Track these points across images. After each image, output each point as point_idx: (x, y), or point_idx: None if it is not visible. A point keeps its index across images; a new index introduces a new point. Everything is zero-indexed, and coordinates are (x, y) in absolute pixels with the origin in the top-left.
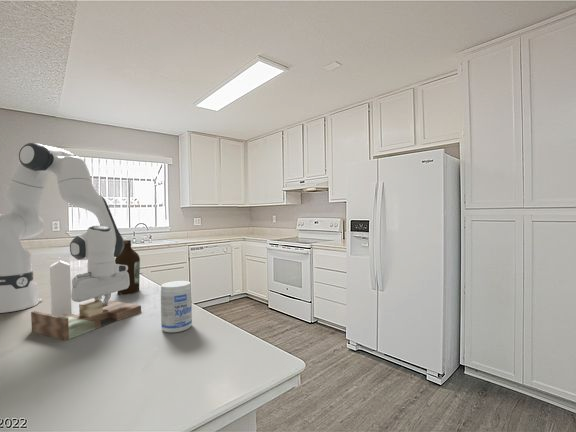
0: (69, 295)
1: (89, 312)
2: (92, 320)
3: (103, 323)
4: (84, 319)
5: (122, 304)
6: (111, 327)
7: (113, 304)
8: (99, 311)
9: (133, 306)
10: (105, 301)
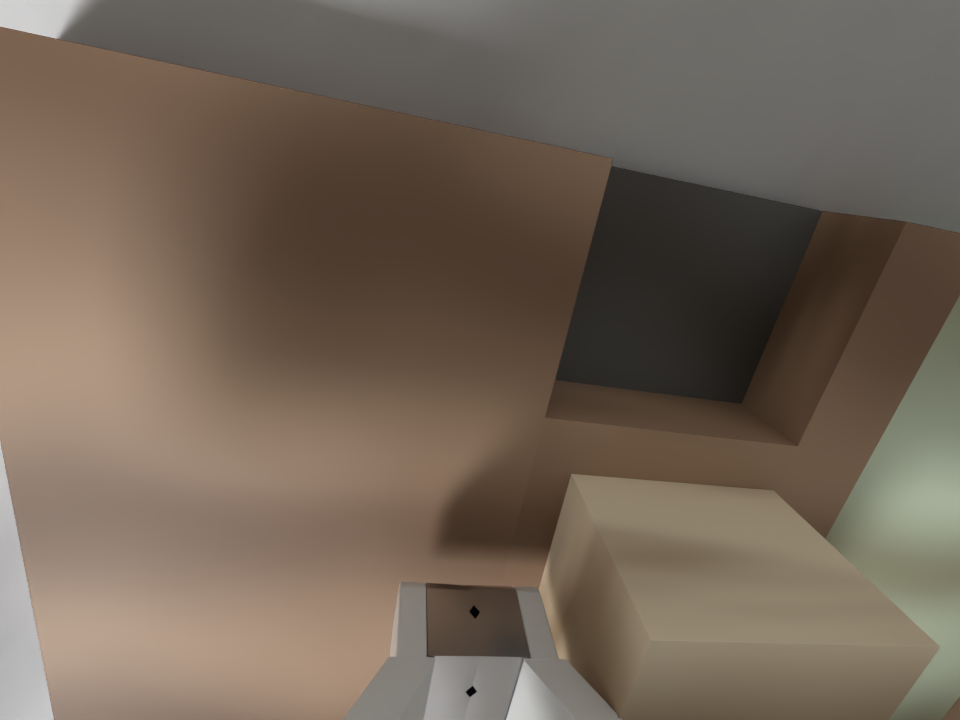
0: None
1: (812, 539)
2: (914, 330)
3: (732, 252)
4: (857, 472)
5: (111, 507)
6: (834, 16)
7: (186, 633)
8: (640, 500)
9: (93, 169)
10: (431, 681)
